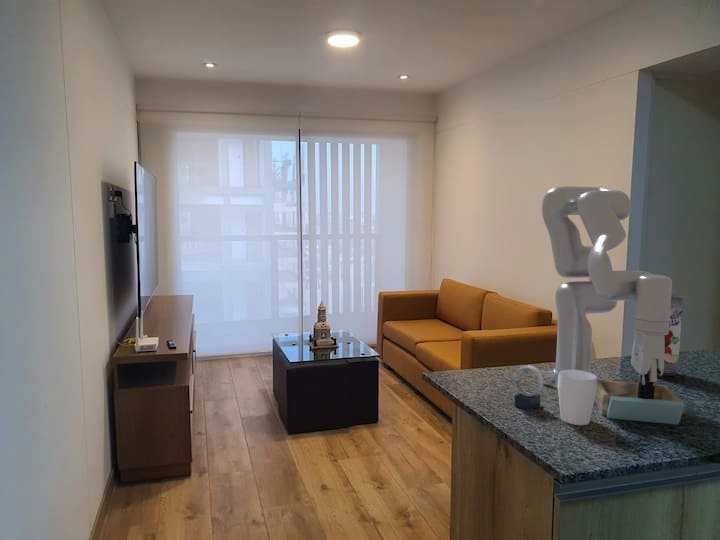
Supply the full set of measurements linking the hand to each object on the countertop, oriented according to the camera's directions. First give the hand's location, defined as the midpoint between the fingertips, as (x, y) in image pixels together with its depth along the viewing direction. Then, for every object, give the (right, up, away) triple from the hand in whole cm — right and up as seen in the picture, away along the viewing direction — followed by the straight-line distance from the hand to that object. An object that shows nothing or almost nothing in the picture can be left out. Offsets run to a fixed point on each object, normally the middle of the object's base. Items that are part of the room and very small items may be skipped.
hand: (645, 399), depth 130 cm
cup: (-16, -6, +3) cm, 18 cm away
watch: (-25, -5, +13) cm, 29 cm away
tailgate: (0, -6, +2) cm, 6 cm away
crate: (+2, -6, +9) cm, 11 cm away
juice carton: (+27, -2, +44) cm, 51 cm away
